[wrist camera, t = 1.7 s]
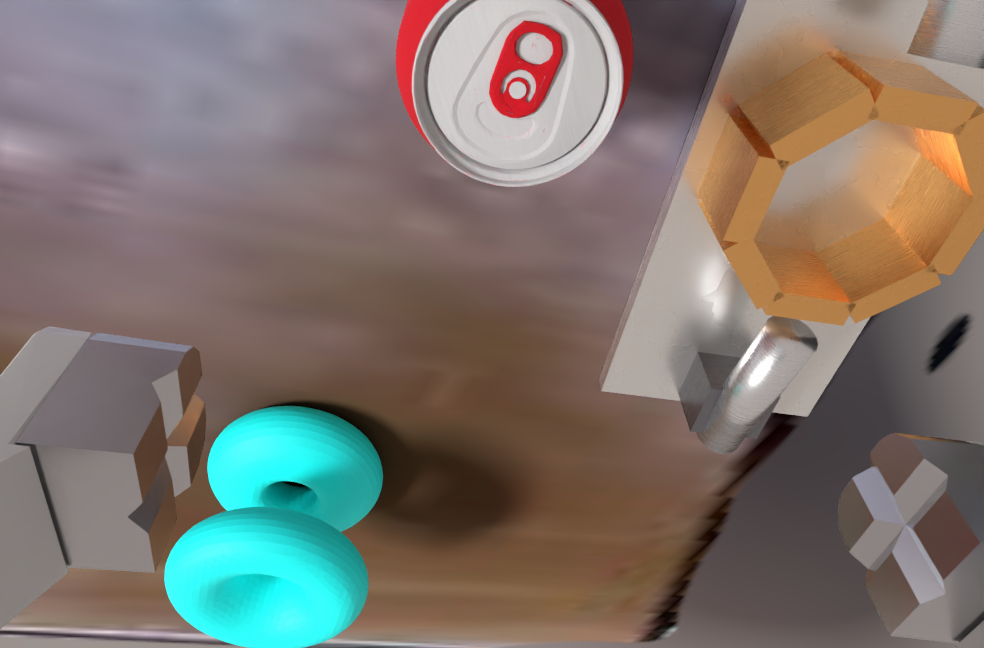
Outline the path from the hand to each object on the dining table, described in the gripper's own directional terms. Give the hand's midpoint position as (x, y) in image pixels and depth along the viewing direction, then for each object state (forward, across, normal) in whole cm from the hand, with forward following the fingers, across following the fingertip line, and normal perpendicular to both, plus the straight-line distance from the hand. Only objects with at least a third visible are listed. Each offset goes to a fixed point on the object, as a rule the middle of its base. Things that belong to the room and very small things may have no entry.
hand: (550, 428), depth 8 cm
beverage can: (+23, 0, 0) cm, 23 cm away
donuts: (+24, +7, +28) cm, 37 cm away
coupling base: (+23, -15, +5) cm, 28 cm away
